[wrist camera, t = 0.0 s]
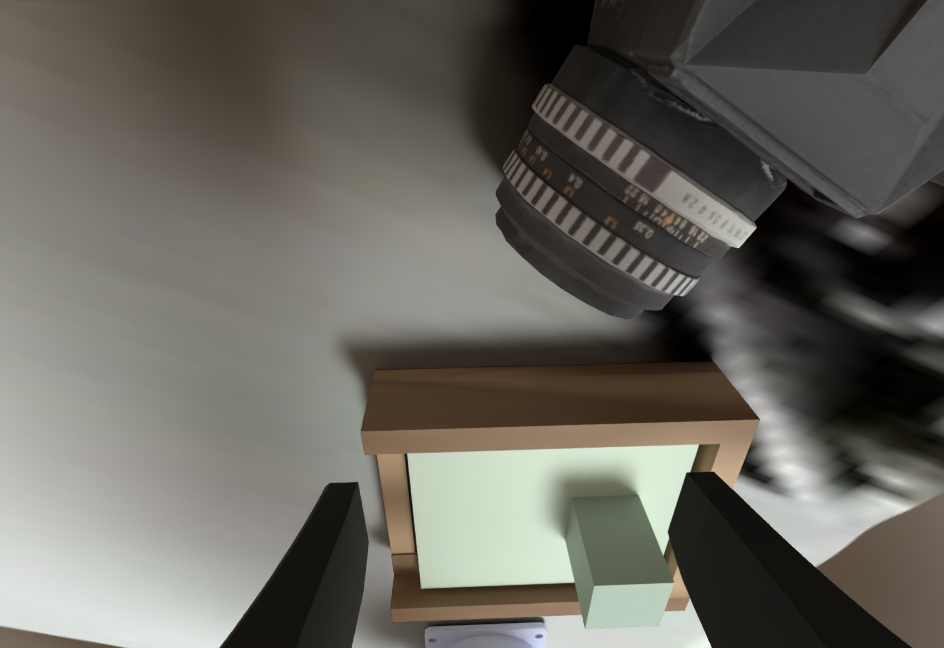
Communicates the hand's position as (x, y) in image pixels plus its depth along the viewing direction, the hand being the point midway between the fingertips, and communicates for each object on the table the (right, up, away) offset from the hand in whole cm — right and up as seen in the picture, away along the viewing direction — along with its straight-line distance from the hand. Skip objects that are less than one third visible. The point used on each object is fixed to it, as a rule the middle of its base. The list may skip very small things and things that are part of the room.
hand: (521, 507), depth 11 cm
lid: (+2, -4, +12) cm, 13 cm away
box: (+2, -3, +14) cm, 14 cm away
